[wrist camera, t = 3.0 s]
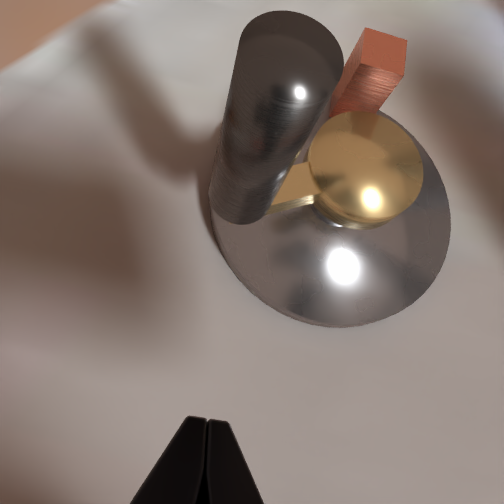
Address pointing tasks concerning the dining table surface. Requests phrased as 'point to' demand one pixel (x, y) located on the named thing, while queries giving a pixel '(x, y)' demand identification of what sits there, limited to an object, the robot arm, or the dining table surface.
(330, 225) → the post base
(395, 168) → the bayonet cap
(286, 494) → the dining table surface
